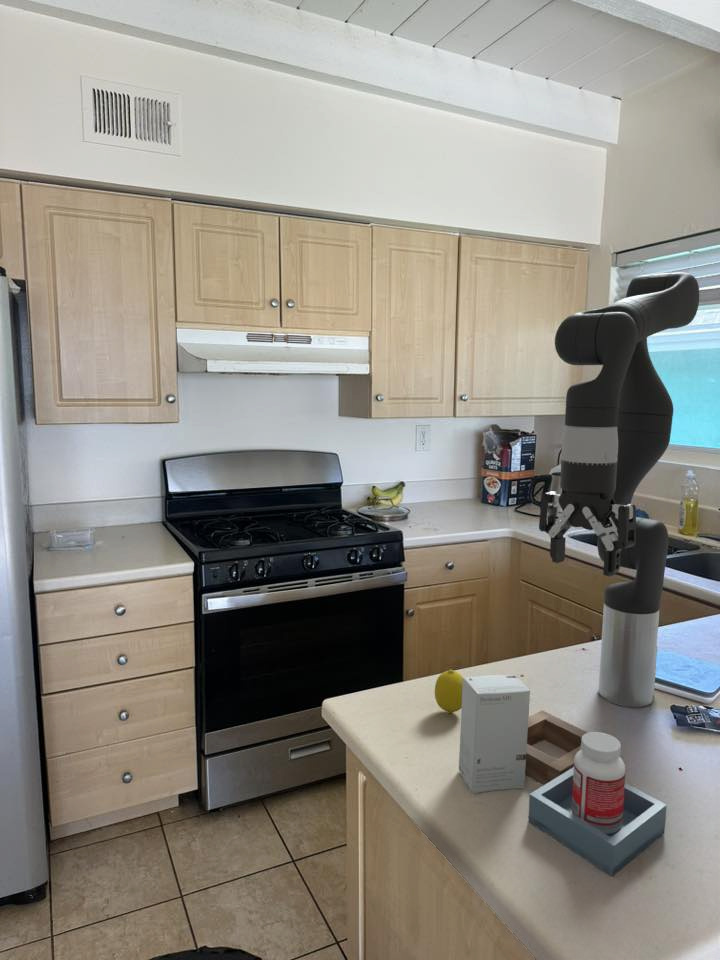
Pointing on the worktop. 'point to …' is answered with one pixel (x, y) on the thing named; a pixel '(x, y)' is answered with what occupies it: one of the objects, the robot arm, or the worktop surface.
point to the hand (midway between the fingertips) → (582, 568)
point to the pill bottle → (599, 782)
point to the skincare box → (493, 732)
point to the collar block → (557, 734)
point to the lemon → (449, 691)
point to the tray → (600, 849)
